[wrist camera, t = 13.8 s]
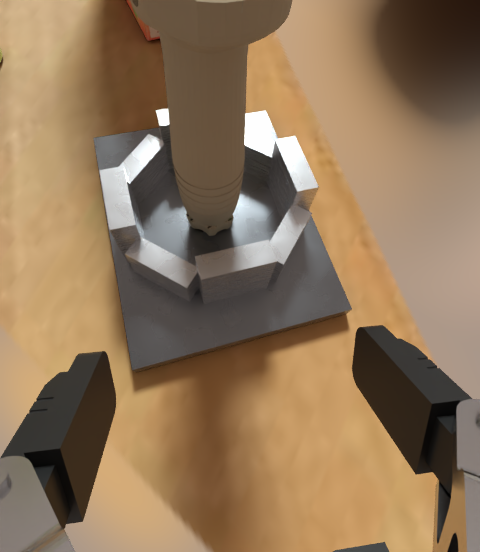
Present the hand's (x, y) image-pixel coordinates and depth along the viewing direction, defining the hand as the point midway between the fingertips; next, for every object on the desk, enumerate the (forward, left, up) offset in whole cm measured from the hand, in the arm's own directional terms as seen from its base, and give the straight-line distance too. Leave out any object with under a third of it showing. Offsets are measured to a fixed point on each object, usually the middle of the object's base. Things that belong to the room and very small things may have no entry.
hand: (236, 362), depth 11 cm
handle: (+2, +11, -9) cm, 15 cm away
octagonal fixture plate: (+2, +11, -10) cm, 16 cm away
